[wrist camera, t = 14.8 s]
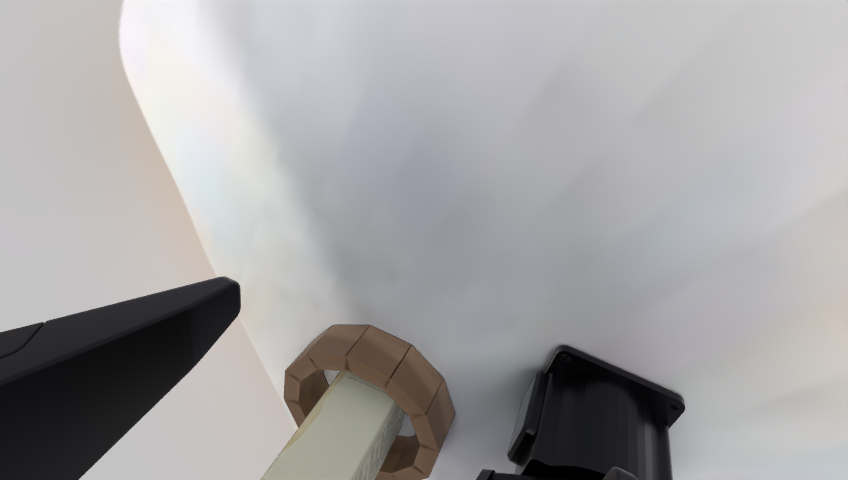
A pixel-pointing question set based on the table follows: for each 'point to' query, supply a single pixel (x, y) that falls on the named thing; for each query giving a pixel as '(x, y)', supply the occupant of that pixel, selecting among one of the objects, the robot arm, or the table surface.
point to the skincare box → (341, 434)
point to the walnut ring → (389, 370)
